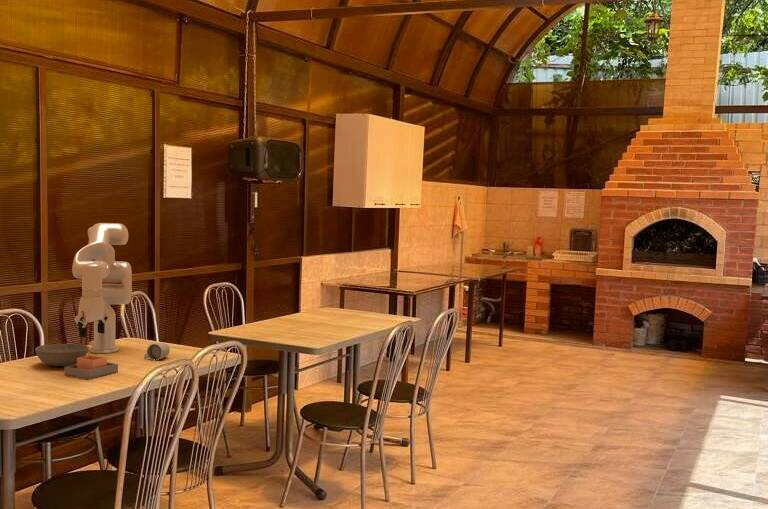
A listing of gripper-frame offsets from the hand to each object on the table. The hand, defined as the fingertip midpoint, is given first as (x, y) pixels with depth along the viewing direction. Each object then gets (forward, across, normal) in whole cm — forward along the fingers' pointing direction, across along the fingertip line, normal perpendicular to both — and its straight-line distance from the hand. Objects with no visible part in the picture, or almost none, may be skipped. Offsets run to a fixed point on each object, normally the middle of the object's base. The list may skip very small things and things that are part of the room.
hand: (92, 335), depth 305 cm
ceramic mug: (+17, -36, +2) cm, 40 cm away
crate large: (+16, +1, +1) cm, 16 cm away
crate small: (+15, +1, +1) cm, 15 cm away
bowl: (+17, -4, -21) cm, 27 cm away
